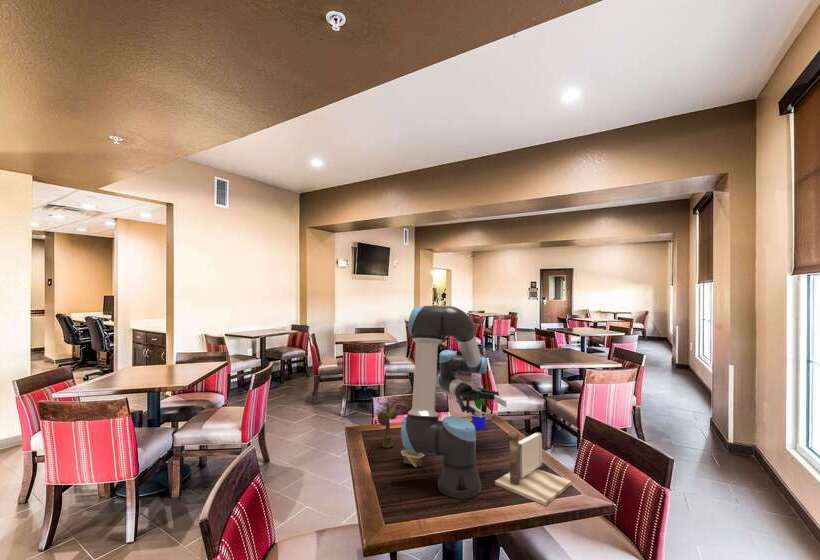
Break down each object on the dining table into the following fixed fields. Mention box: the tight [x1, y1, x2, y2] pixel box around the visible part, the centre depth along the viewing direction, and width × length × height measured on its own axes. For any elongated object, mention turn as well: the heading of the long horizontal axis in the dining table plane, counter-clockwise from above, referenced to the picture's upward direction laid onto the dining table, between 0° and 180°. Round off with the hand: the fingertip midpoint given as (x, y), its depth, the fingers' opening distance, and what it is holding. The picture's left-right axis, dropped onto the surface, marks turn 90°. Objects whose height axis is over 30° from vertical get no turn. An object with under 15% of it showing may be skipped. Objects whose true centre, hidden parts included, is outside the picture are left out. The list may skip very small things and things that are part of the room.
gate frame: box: [494, 430, 573, 507], centre depth 132 cm, size 20×19×19 cm
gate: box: [518, 431, 543, 479], centre depth 138 cm, size 17×2×12 cm, turn 134°
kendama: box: [376, 401, 398, 449], centre depth 166 cm, size 6×10×20 cm, turn 156°
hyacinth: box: [470, 373, 487, 431], centre depth 190 cm, size 9×10×30 cm
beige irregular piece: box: [400, 449, 425, 468], centre depth 147 cm, size 12×18×7 cm, turn 65°
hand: (493, 409), depth 150 cm, fingers open, 13 cm apart
